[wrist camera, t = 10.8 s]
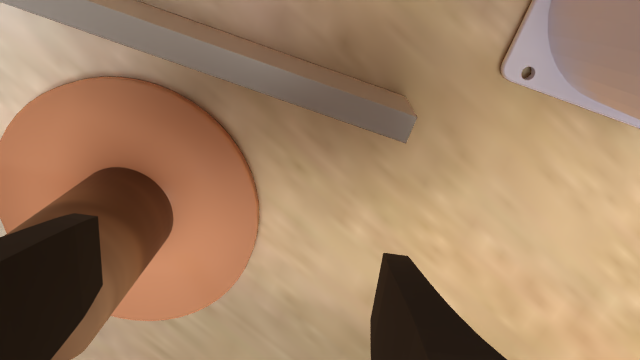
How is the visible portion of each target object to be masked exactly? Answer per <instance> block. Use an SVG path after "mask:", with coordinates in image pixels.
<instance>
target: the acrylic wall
mask: <svg viewBox="0 0 640 360" xmlns="http://www.w3.org/2000/svg"><path fill="white" fill-rule="evenodd" d="M0 2H2V3H5V4H8V5H10V6H13V7H16V8H19V9H22V10H25V11H28V12H30V13H33V14H36V15H39V16H42V17H45V18H48V19H51V20H53V21H56V22H59V23H62V24H65V25H68V26H71V27H73V28H76V29H79V30H82V31H85V32H88V33H91V34H94V35H96V36H99V37H102V38H105V39H108V40H111V41H114V42H117V43H119V44H122V45H125V46H128V47H131V48H134V49H137V50H139V51H142V52H145V53H148V54H151V55H154V56H157V57H160V58H162V59H165V60H168V61H171V62H174V63H177V64H180V65H182V66H185V67H188V68H191V69H194V70H197V71H200V72H203V73H205V74H208V75H211V76H214V77H217V78H220V79H223V80H226V81H228V82H231V83H234V84H237V85H240V86H243V87H246V88H248V89H251V90H254V91H257V92H260V93H263V94H266V95H269V96H271V97H274V98H277V99H280V100H283V101H286V102H289V103H292V104H294V105H297V106H300V107H303V108H306V109H309V110H312V111H314V112H317V113H320V114H323V115H326V116H329V117H332V118H335V119H337V120H340V121H343V122H346V123H349V124H352V125H355V126H357V127H360V128H363V129H366V130H369V131H372V132H375V133H378V134H380V135H383V136H386V137H389V138H392V139H395V140H398V141H401V142H403V143H406V142H407V140H408V137H409V135H410V133H411V130H412V128H413V126H414V124H415V121H416V119H417V116H416V114H415V112H414V111H413V109H412V107H411V105H410V104H409V102H408V100H407V98H406V97H405V96H403V95H400V94H397V93H394V92H391V91H389V90H386V89H383V88H380V87H377V86H375V85H372V84H369V83H366V82H363V81H360V80H358V79H355V78H352V77H349V76H346V75H344V74H341V73H338V72H335V71H332V70H330V69H327V68H324V67H321V66H318V65H316V64H313V63H310V62H307V61H304V60H302V59H299V58H296V57H293V56H290V55H288V54H285V53H282V52H279V51H276V50H273V49H271V48H268V47H265V46H262V45H259V44H257V43H254V42H251V41H248V40H245V39H243V38H240V37H237V36H234V35H231V34H229V33H226V32H223V31H220V30H217V29H215V28H212V27H209V26H206V25H203V24H201V23H198V22H195V21H192V20H189V19H187V18H184V17H181V16H178V15H175V14H172V13H170V12H167V11H164V10H161V9H158V8H156V7H153V6H150V5H147V4H144V3H142V2H139V1H136V0H0Z"/></svg>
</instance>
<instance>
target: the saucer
mask: <svg viewBox="0 0 640 360" xmlns="http://www.w3.org/2000/svg"><path fill="white" fill-rule="evenodd" d="M110 167H124V168H129V169H132V170H136V171H138V172H140V173H142V174H144V175H146V176H148V177H149V178H151V179H152V180H153V181H154V182H156V183H157V184H158V185H159V186H160V188H161V189H162V190H163V191H164V193H165V194H166V196H167V197H168V199H169V201H170V204H171V207H172V211H173V226H172V230H171V233H170V235H169V237H168V238H167V240H166V241H165V243H164V244H163V245H162V247H161V248H160V249H159V251H158V252H157V253H156V255H155V256H154V258H153V259H152V260H151V262H150V263H149V264H148V266H147V267H146V268H145V270H144V271H143V272H142V274H141V275H140V276H139V278H138V279H137V280H136V282H135V283H134V285H133V286H132V287H131V289H130V290H129V291H128V293H127V294H126V295H125V297H124V298H123V299H122V301H121V302H120V303H119V305H118V306H117V308H116V309H115V310H114V312H113V313H112V314H111V316H114V317H118V318H123V319H130V320H142V321H156V320H167V319H173V318H178V317H182V316H185V315H188V314H191V313H194V312H196V311H199V310H201V309H203V308H205V307H207V306H209V305H210V304H212V303H213V302H215V301H216V300H218V299H219V298H220V297H221V296H223V295H224V294H225V293H226V292H227V291H228V290H229V289H230V288H231V287H232V286H233V285H234V283H235V282H236V281H237V280H238V279H239V277H240V275H241V274H242V272H243V270H244V269H245V267H246V265H247V263H248V260H249V258H250V255H251V253H252V250H253V247H254V245H255V241H256V237H257V232H258V224H259V203H258V196H257V191H256V186H255V183H254V180H253V177H252V174H251V171H250V169H249V167H248V164H247V162H246V160H245V158H244V156H243V154H242V153H241V151H240V150H239V148H238V147H237V145H236V144H235V142H234V141H233V139H232V138H231V137H230V136H229V134H228V133H227V132H226V131H225V130H224V129H223V127H222V126H221V125H220V124H219V123H218V122H217V121H216V120H215V119H213V118H212V117H211V116H210V115H209V114H208V113H207V112H206V111H204V110H203V109H201V108H200V107H199V106H197V105H196V104H195V103H193V102H192V101H190V100H188V99H187V98H185V97H183V96H181V95H180V94H178V93H176V92H174V91H172V90H169V89H167V88H164V87H162V86H159V85H157V84H153V83H150V82H146V81H142V80H139V79H132V78H125V77H96V78H88V79H83V80H79V81H76V82H72V83H69V84H65V85H62V86H59V87H56V88H54V89H52V90H50V91H48V92H46V93H43V94H41V95H40V96H38V97H37V98H36V99H34V100H33V101H31V102H30V103H28V104H27V105H26V106H25V107H24V108H23V109H22V110H21V111H20V112H19V113H18V114H17V115H16V116H15V117H14V119H13V120H12V121H11V123H10V124H9V125H8V127H7V129H6V131H5V132H4V134H3V136H2V138H1V140H0V218H1V221H2V223H3V226H4V228H5V230H6V233H7V234H8V233H9V232H10V231H12V230H13V229H15V228H16V227H18V226H19V225H20V224H22V223H23V222H25V221H26V220H28V219H29V218H30V217H32V216H33V215H35V214H36V213H38V212H39V211H40V210H42V209H43V208H45V207H46V206H48V205H49V204H50V203H52V202H53V201H55V200H56V199H58V198H59V197H60V196H62V195H63V194H65V193H66V192H68V191H69V190H70V189H72V188H73V187H75V186H76V185H78V184H79V183H80V182H82V181H83V180H85V179H86V178H88V177H89V176H90V175H92V174H93V173H95V172H97V171H99V170H102V169H105V168H110Z"/></svg>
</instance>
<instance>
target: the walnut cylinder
mask: <svg viewBox="0 0 640 360" xmlns="http://www.w3.org/2000/svg"><path fill="white" fill-rule="evenodd" d="M73 213H77V214H85V215H92V216H98V223H99V236H100V250H101V264H102V277H103V286H102V288H101V289H100V291H99V293H98V295H97V296H96V298H95V300H94V302H93V304H92V305H91V307H90V308H89V310H88V312H87V313H86V315H85V317H84V318H83V320H82V321H81V322H80V323H79V325H78V326H77V327H76V329H75V330H74V331H73V332H72V334H71V335H70V336H69V338H68V339H67V340H66V341H65V343H64V344H63V345H62V346H61V348H60V349H59V350H58V351H57V353H56V354H55V355H54V356H53V358H52V359H51V360H70V359H73V358H74V357H76V356H78V355H79V354H81V353H82V352H83V351H84V350H85V349H86V348H87V347H88V345H89V344H90V343H91V341H92V340H93V339H94V337H95V336H96V335H97V333H98V332H99V331H100V329H101V328H102V326H103V325H104V324H105V322H106V321H107V320H108V318H109V317H110V316H111V314H112V313H113V312H114V310H115V309H116V308H117V306H118V305H119V303H120V302H121V301H122V299H123V298H124V297H125V295H126V294H127V293H128V291H129V290H130V289H131V287H132V286H133V285H134V283H135V282H136V280H137V279H138V278H139V276H140V275H141V274H142V272H143V271H144V270H145V268H146V267H147V266H148V264H149V263H150V262H151V260H152V259H153V258H154V256H155V255H156V253H157V252H158V251H159V249H160V248H161V247H162V245H163V244H164V243H165V241H166V240H167V238H168V237H169V235H170V233H171V230H172V226H173V211H172V207H171V204H170V201H169V199H168V197H167V196H166V194H165V193H164V191H163V190H162V189H161V188H160V186H159V185H158V184H157V183H156V182H154V181H153V180H152V179H151V178H149V177H148V176H146V175H144V174H142V173H140V172H138V171H136V170H132V169H129V168H124V167H110V168H105V169H102V170H99V171H97V172H95V173H93V174H92V175H90V176H89V177H88V178H86V179H85V180H83V181H82V182H80V183H79V184H78V185H76V186H75V187H73V188H72V189H70V190H69V191H68V192H66V193H65V194H63V195H62V196H60V197H59V198H58V199H56V200H55V201H53V202H52V203H50V204H49V205H48V206H46V207H45V208H43V209H42V210H40V211H39V212H38V213H36V214H35V215H33V216H32V217H30V218H29V219H28V220H26V221H25V222H23V223H22V224H20V225H19V226H18V227H16V228H15V229H13V230H12V231H10V232H9V233H8V234H11V233H14V232H17V231H20V230H22V229H25V228H28V227H31V226H34V225H36V224H39V223H42V222H45V221H48V220H51V219H54V218H58V217H61V216H64V215H68V214H73ZM8 234H6V235H8ZM6 235H5V236H6Z"/></svg>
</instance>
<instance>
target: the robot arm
mask: <svg viewBox="0 0 640 360" xmlns="http://www.w3.org/2000/svg"><path fill="white" fill-rule="evenodd" d="M526 67H531V70H532V71H531V74H530V76H529V77H527V78H525V79H523V78H522V76H521V73H522V70H523V69H524V68H526ZM500 69H501V74H502V76H503V77H504V78H505V79H507V80H509V81H511V82H514V83H516V84H519V85H522V86H525V87H527V88H530V89H533V90H536V91H538V92H541V93H544V94H546V95H549V96H552V97H555V98H557V99H560V100H563V101H566V102H568V103H571V104H574V105H577V106H579V107H582V108H585V109H588V110H590V111H593V112H596V113H599V114H601V115H604V116H607V117H609V118H612V119H615V120H618V121H620V122H623V123H626V124H629V125H631V126H634V127H637V128H640V0H532V2H531V4H530V6H529V8H528V11H527V13H526V15H525V17H524V19H523V21H522V23H521V25H520V27H519V29H518V31H517V33H516V35H515V37H514V39H513V42H512V44H511V46H510V48H509V50H508V52H507V54H506V56H505V58H504V60H503V62H502V65H501V68H500ZM102 286H103V277H102V264H101V250H100V236H99V223H98V216H92V215H85V214H77V213H73V214H68V215H64V216H61V217H58V218H54V219H51V220H48V221H45V222H42V223H39V224H36V225H34V226H31V227H28V228H25V229H22V230H20V231H17V232H14V233H11V234H8V235H6V236H3V237H0V360H51V359H52V358H53V356H54V355H55V354H56V353H57V351H58V350H59V349H60V348H61V346H62V345H63V344H64V343H65V341H66V340H67V339H68V338H69V336H70V335H71V334H72V332H73V331H74V330H75V329H76V327H77V326H78V325H79V323H80V322H81V321H82V320H83V318H84V317H85V315H86V313H87V312H88V310H89V308H90V307H91V305H92V304H93V302H94V300H95V298H96V296H97V295H98V293H99V291H100V289H101V288H102ZM371 360H507V359H506V358H504V357H503V356H502V355H501V354H500V353H499V352H497V351H496V350H495V349H494V348H493V347H491V346H490V345H489V344H488V343H487V342H486V341H484V340H483V339H482V338H481V337H480V336H479V335H478V334H477V333H476V332H475V331H474V330H473V329H472V328H471V327H470V326H469V325H468V324H467V323H466V322H465V321H464V320H463V319H462V318H461V317H460V316H459V315H458V314H457V313H456V312H455V311H454V310H453V309H452V308H451V307H450V306H449V305H448V304H447V302H446V301H445V300H444V299H443V298H442V297H441V296H440V294H439V293H438V292H437V291H436V290H435V289H434V287H433V286H432V285H431V284H430V283H429V281H428V280H427V279H426V278H425V277H424V275H423V274H422V273H421V272H420V270H419V269H418V268H417V267H416V265H415V264H414V263H413V262H412V260H411V259H410V258H409V257H408V256H404V255H396V254H388V253H383V258H382V263H381V268H380V273H379V279H378V284H377V289H376V294H375V299H374V305H373V310H372V315H371Z"/></svg>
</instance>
